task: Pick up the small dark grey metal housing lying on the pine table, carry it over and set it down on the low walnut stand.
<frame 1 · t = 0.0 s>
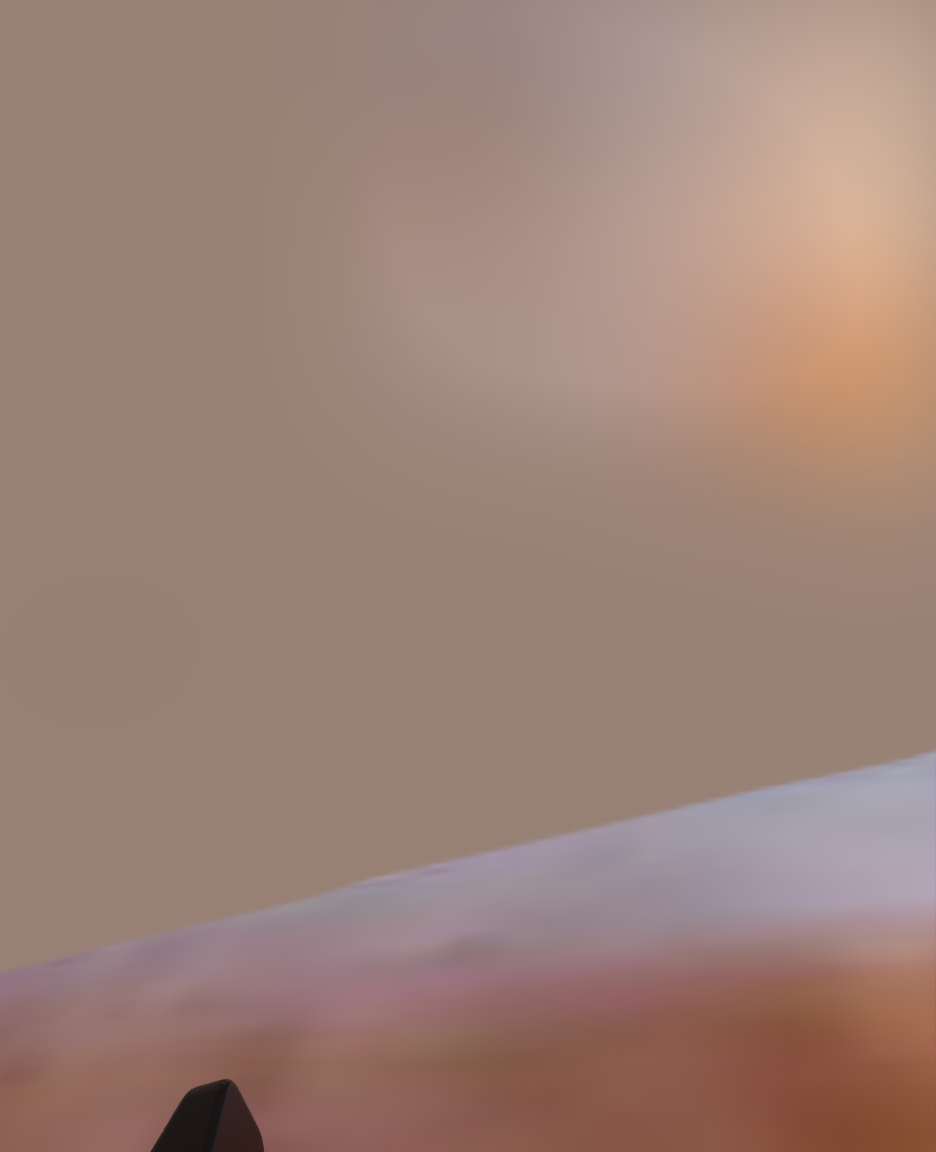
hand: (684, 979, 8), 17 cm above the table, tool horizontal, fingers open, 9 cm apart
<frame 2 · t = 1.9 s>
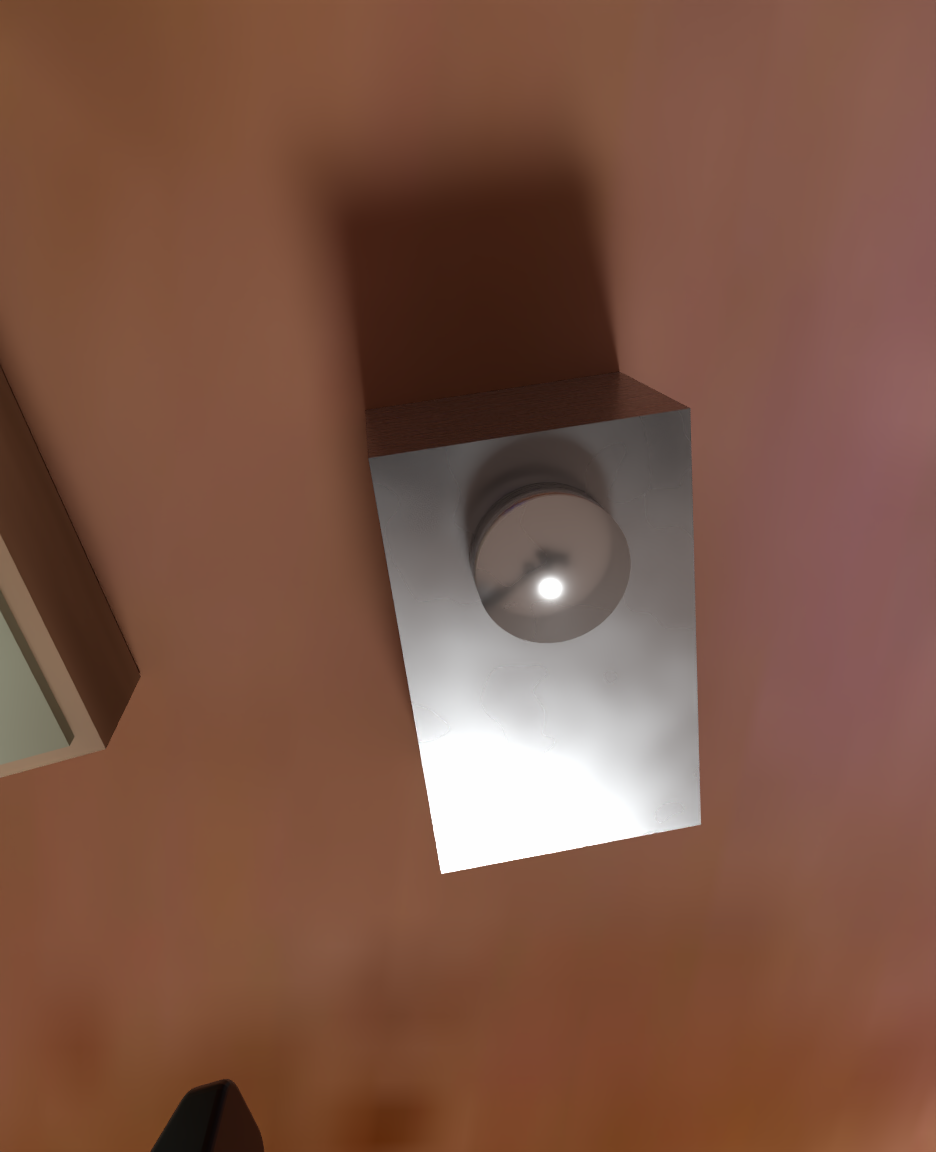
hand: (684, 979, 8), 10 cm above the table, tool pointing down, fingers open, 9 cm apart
housing: (513, 575, 18), on the table
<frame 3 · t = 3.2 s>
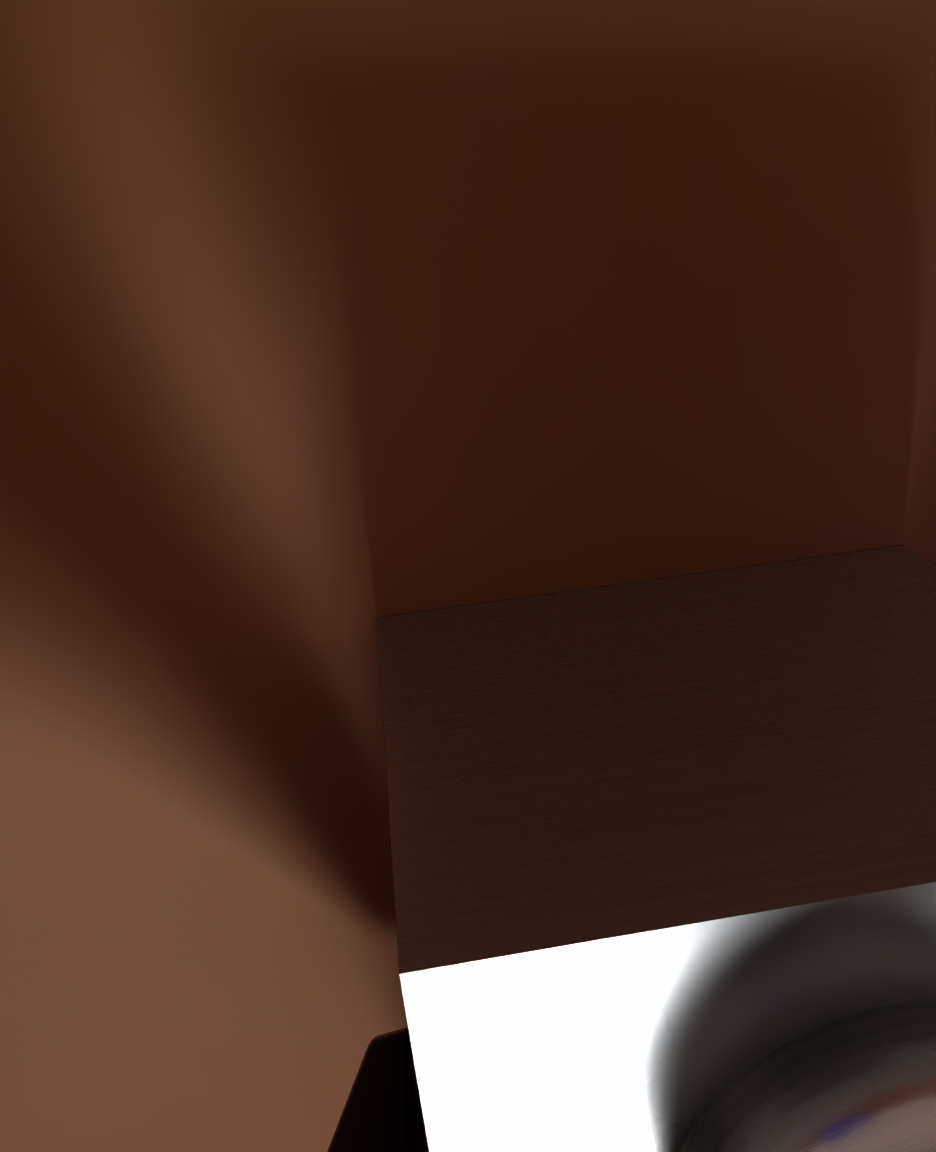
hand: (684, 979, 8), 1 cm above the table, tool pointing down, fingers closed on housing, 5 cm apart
housing: (651, 912, 9), on the table, touching gripper
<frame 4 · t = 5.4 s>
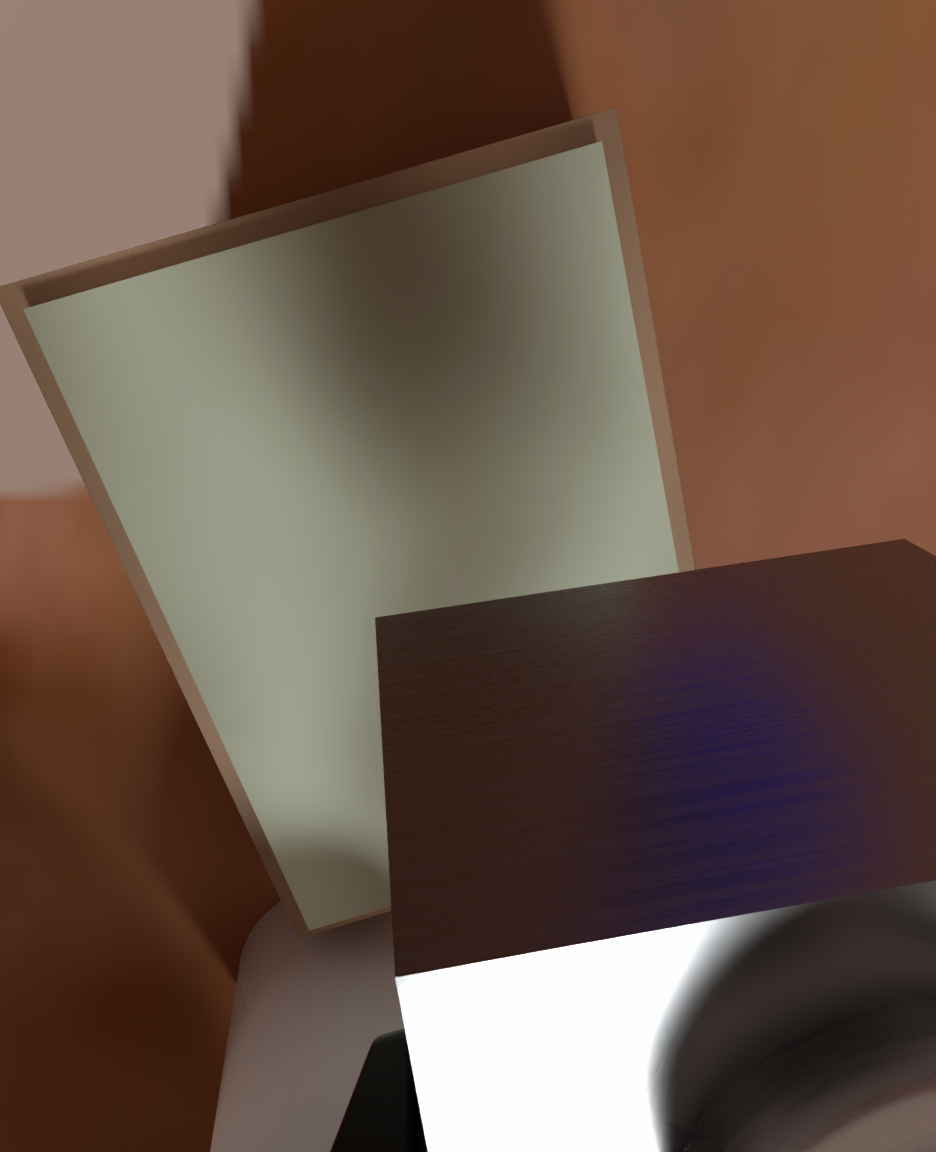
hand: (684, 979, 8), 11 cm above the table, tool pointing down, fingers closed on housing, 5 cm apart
light grey rounded cylinder: (355, 965, 23), on the table
housing: (654, 911, 9), point 10 cm above the table, touching gripper
stand: (420, 544, 18), on the table
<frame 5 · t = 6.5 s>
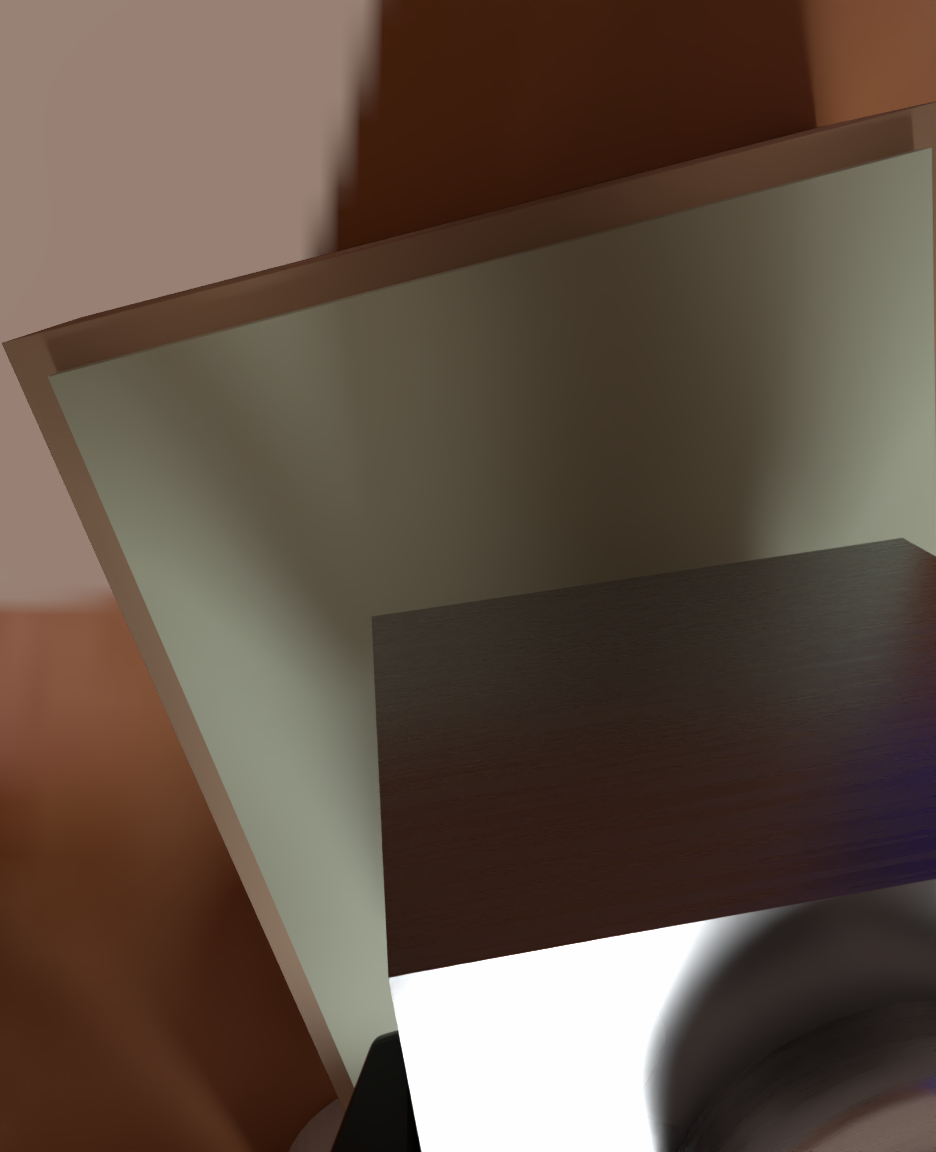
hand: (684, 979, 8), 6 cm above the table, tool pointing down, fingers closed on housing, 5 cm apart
housing: (652, 910, 9), point 5 cm above the table, touching gripper
stand: (554, 673, 14), on the table
when the fingers open (5 cm above the table, at t = 7.5 s): housing stays where it is, resting on stand.
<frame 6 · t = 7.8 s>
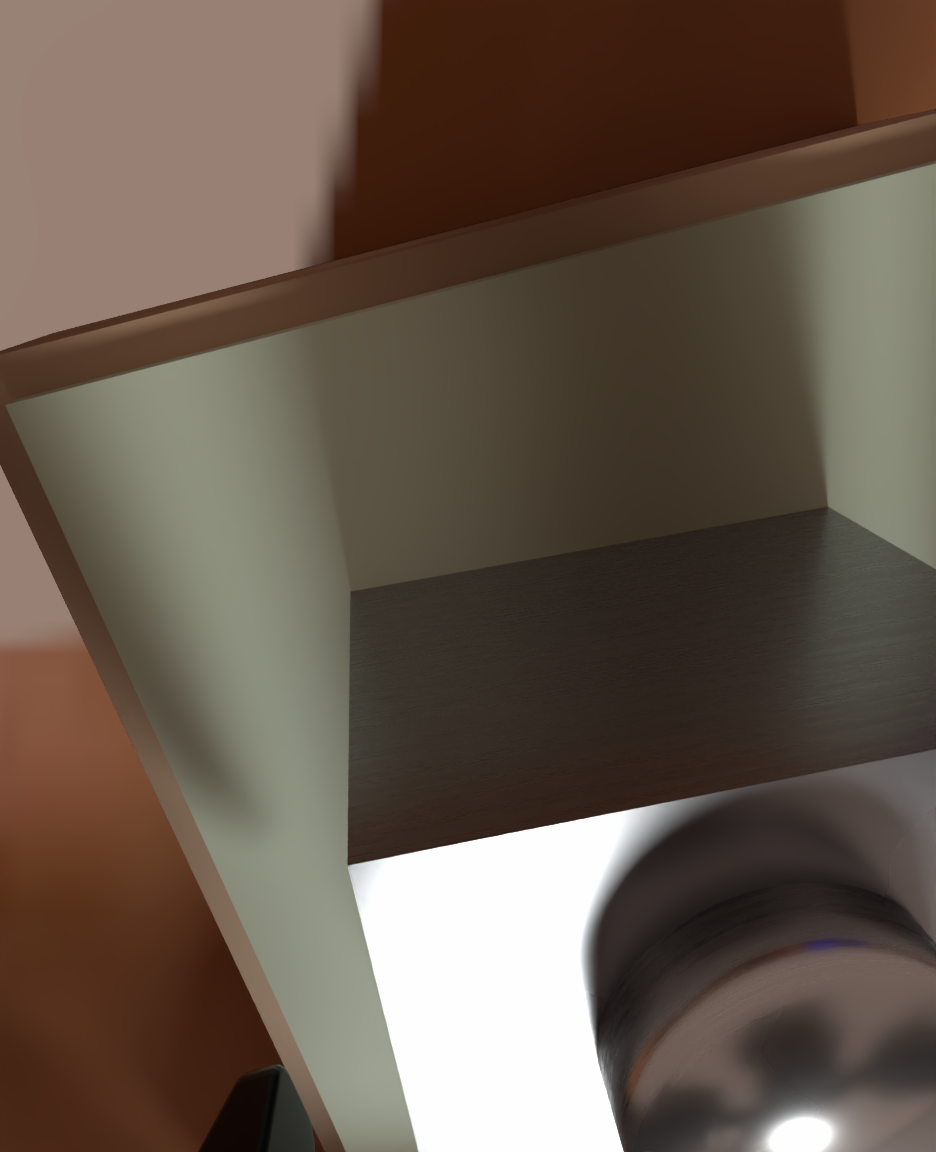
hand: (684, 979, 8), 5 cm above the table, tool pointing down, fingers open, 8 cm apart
housing: (620, 855, 10), point 3 cm above the table, touching stand
stand: (568, 712, 13), on the table
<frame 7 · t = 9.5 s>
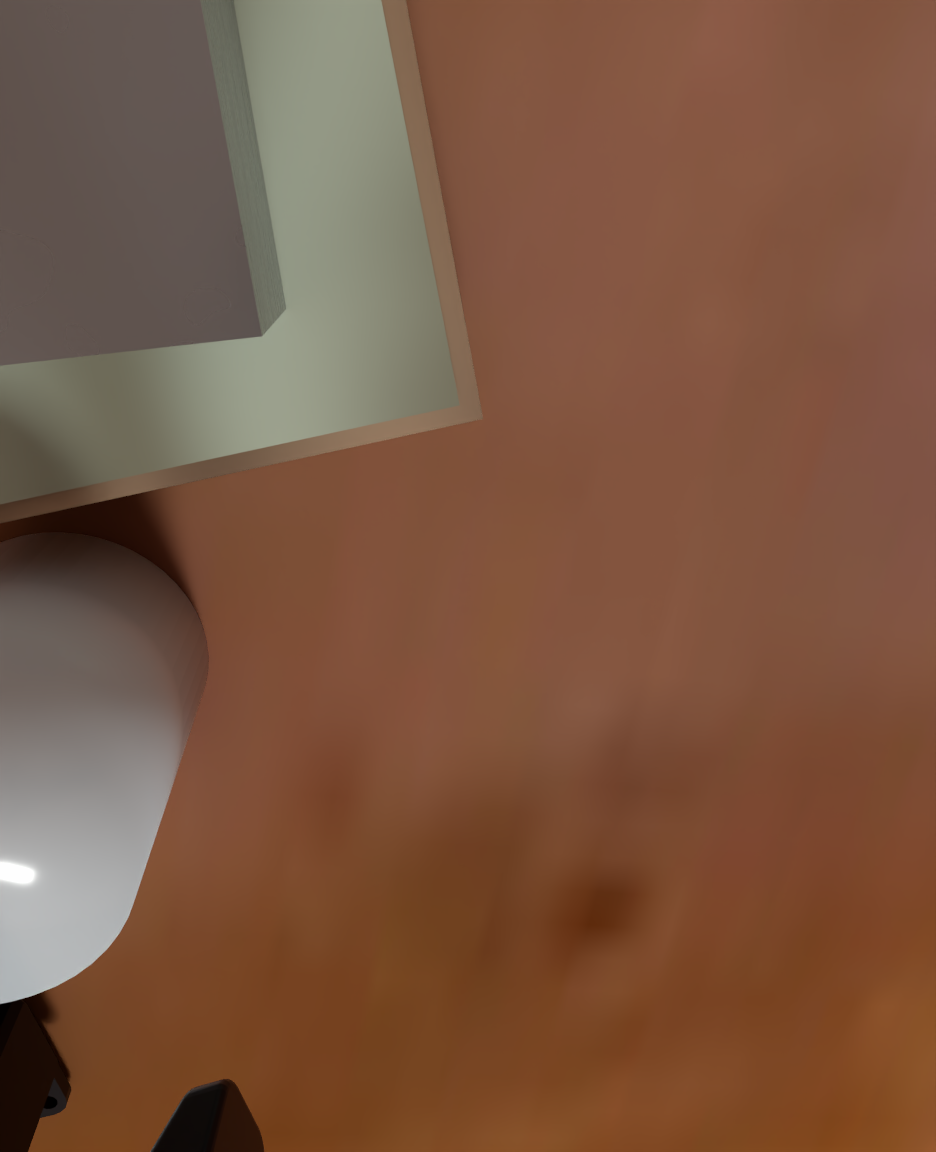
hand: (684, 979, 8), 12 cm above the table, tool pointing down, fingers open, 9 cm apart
light grey rounded cylinder: (74, 655, 20), on the table
housing: (70, 49, 13), point 3 cm above the table, touching stand
stand: (124, 69, 15), on the table
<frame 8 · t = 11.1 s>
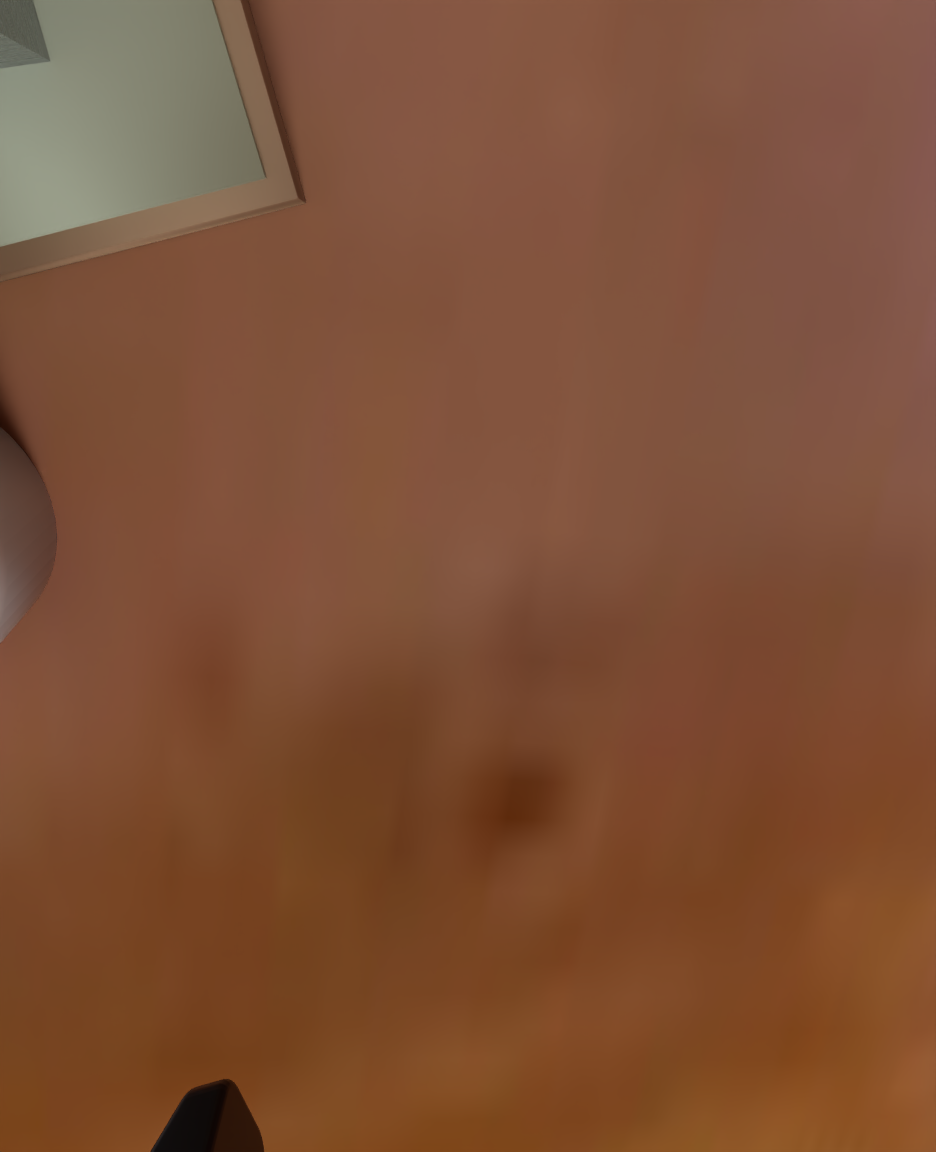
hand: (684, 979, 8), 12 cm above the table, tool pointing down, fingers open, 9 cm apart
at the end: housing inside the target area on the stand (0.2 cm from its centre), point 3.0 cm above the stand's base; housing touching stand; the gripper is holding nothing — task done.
